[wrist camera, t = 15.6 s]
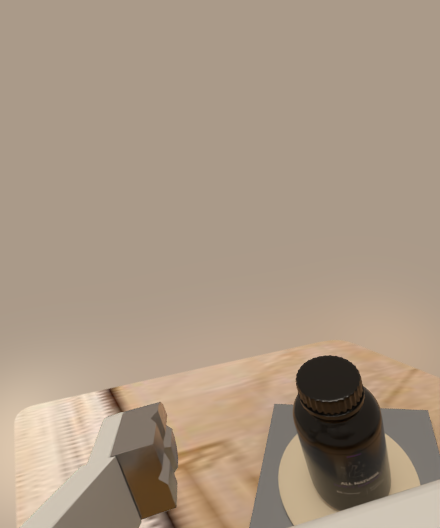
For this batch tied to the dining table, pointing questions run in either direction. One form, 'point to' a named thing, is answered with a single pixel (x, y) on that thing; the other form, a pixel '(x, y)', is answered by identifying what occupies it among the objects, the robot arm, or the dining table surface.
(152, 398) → the dining table surface
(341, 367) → the supplement bottle
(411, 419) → the slate board
